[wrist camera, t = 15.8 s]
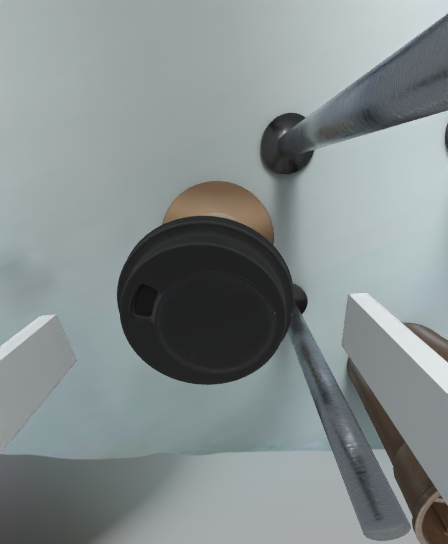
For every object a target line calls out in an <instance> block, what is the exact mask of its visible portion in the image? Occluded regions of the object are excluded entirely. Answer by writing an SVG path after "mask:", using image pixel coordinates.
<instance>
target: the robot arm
mask: <svg viewBox="0 0 448 544" xmlns="http://www.w3.org/2000/svg"><path fill="white" fill-rule="evenodd" d="M342 346H343V348H344V349H345V351H346V352H347V354H348V355H349V357H350V358H351V360H352V361H353V363H354V364H355V366H356V367H357V369H358V370H359V372H360V373H361V375H362V376H363V378H364V379H365V381H366V382H367V384H368V386H369V387H370V389H371V390H372V392H373V393H374V395H375V396H376V398H377V399H378V401H379V402H380V404H381V405H382V407H383V408H384V410H385V411H386V413H387V414H388V416H389V417H390V419H391V420H392V422H393V423H394V425H395V427H396V428H397V430H398V431H399V433H400V434H401V436H402V437H403V439H404V440H405V442H406V443H407V445H408V446H409V448H410V449H411V451H412V452H413V454H414V455H415V457H416V458H417V460H418V461H419V463H420V464H421V466H422V468H423V469H424V471H425V472H426V474H427V475H428V477H429V478H430V480H431V481H432V483H433V484H434V486H435V487H436V489H437V490H438V492H439V493H440V495H441V496H442V498H443V499H444V501H445V502H446V504H447V505H448V362H446V361H445V360H444V359H443V358H442V357H441V356H439V355H438V354H437V353H436V352H435V351H434V350H433V349H431V348H430V347H429V346H428V345H427V344H426V343H424V342H423V341H422V340H421V339H420V338H419V337H418V336H416V335H415V334H414V333H413V332H412V331H411V330H409V329H408V328H407V327H406V326H405V325H404V324H402V323H401V322H400V321H399V320H398V319H397V318H396V317H394V316H393V315H392V314H391V313H390V312H389V311H387V310H386V309H385V308H384V307H383V306H382V305H380V304H379V303H378V302H377V301H376V300H375V299H374V298H372V297H371V296H370V295H369V294H368V293H367V292H366V293H352V294H348V300H347V308H346V315H345V323H344V331H343V339H342ZM76 361H77V360H76V358H75V356H74V353H73V351H72V349H71V347H70V344H69V342H68V340H67V337H66V335H65V333H64V330H63V328H62V326H61V324H60V321H59V319H58V317H57V315H43V316H40V317H38V318H37V319H36V320H34V321H33V322H32V323H30V324H29V325H28V326H26V327H25V328H24V329H22V330H21V331H20V332H18V333H17V334H16V335H14V336H13V337H12V338H10V339H9V340H8V341H6V342H5V343H4V344H2V345H1V346H0V454H1V453H2V452H3V451H4V449H5V448H6V447H7V446H8V444H9V443H10V442H11V441H12V440H13V438H14V437H15V436H16V435H17V433H18V432H19V431H20V430H21V429H22V427H23V426H24V425H25V424H26V422H27V421H28V420H29V419H30V417H31V416H32V415H33V414H34V413H35V411H36V410H37V409H38V408H39V406H40V405H41V404H42V403H43V401H44V400H45V399H46V398H47V397H48V395H49V394H50V393H51V392H52V390H53V389H54V388H55V387H56V385H57V384H58V383H59V382H60V381H61V379H62V378H63V377H64V376H65V374H66V373H67V372H68V371H69V369H70V368H71V367H72V366H73V365H74V363H75V362H76Z"/></svg>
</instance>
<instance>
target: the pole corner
mask: <svg viewBox="0 0 448 544" xmlns="http://www.w3.org/2000/svg"><path fill="white" fill-rule="evenodd" d="M447 110H448V14H447V15H445V16H444V17H443V18H441V19H440V20H439V21H437V22H436V23H435V24H433V25H432V26H431V27H429V28H428V29H426V30H425V31H424V32H422V33H421V34H420V35H418V36H417V37H416V38H414V39H413V40H411V41H410V42H409V43H407V44H406V45H405V46H403V47H402V48H401V49H399V50H398V51H396V52H395V53H394V54H392V55H391V56H390V57H388V58H387V59H386V60H384V61H383V62H381V63H380V64H379V65H377V66H376V67H375V68H373V69H372V70H371V71H369V72H368V73H366V74H365V75H364V76H362V77H361V78H360V79H358V80H357V81H356V82H354V83H353V84H351V85H350V86H349V87H347V88H346V89H345V90H343V91H342V92H341V93H339V94H338V95H336V96H335V97H334V98H332V99H331V100H330V101H328V102H327V103H326V104H324V105H323V106H321V107H320V108H319V109H317V110H316V111H315V112H313V113H312V114H311V115H309V116H308V117H306V118H305V117H304V116H302V115H300V114H296V113H287V114H283V115H280V116H278V117H277V118H275V119H274V120H273V121H272V122H271V123H270V124H269V125H268V127H267V128H266V129H265V131H264V133H263V136H262V139H261V146H260V149H261V156H262V159H263V161H264V163H265V164H266V166H267V167H268V168H269V169H271V170H272V171H274V172H276V173H279V174H291V173H294V172H297V171H299V170H300V169H302V168H303V167H304V166H305V165H306V164H307V163H308V162H309V160H310V159H311V157H312V155H313V152H314V149H317V148H321V147H324V146H327V145H331V144H334V143H338V142H341V141H345V140H348V139H351V138H355V137H358V136H362V135H365V134H368V133H372V132H375V131H379V130H382V129H386V128H389V127H392V126H396V125H399V124H403V123H406V122H409V121H413V120H416V119H420V118H423V117H427V116H430V115H433V114H437V113H440V112H444V111H447Z"/></svg>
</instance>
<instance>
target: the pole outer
mask: <svg viewBox="0 0 448 544" xmlns="http://www.w3.org/2000/svg"><path fill="white" fill-rule="evenodd" d="M445 138H446V144H447V146H448V125H447V128H446V135H445Z"/></svg>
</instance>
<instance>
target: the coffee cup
mask: <svg viewBox="0 0 448 544" xmlns="http://www.w3.org/2000/svg"><path fill="white" fill-rule="evenodd" d="M117 301H118V308H119V313H120V319H121V324H122V328H123V331H124V334H125V336H126V338H127V340H128V342H129V344H130V345H131V347H132V348H133V350H134V351H135V352H136V353H137V355H138V356H139V357H140V358H141V359H142V360H143V361H145V362H146V363H147V364H148V365H149V366H151V367H152V368H154V369H155V370H157V371H158V372H160V373H162V374H164V375H166V376H168V377H171V378H173V379H176V380H179V381H183V382H187V383H193V384H205V385H210V384H222V383H227V382H231V381H235V380H238V379H241V378H243V377H245V376H247V375H249V374H251V373H253V372H255V371H256V370H258V369H259V368H260V367H262V366H263V365H264V364H265V363H266V362H267V361H268V360H269V359H270V358H271V357H272V356H273V355H274V353H275V352H276V350H277V349H278V347H279V345H280V343H281V341H282V340H283V338H284V337H285V335H286V333H287V331H288V329H289V327H290V324H291V321H292V317H293V312H294V292H293V284H292V279H291V275H290V272H289V269H288V267H287V265H286V263H285V261H284V259H283V258H282V256H281V255H280V253H279V252H278V250H277V249H276V248H275V247H274V246H273V245H272V244H271V243H270V242H269V241H268V240H267V239H266V238H265V237H264V236H262V235H261V234H260V233H258V232H257V231H255V230H254V229H252V228H250V227H248V226H246V225H244V224H242V223H240V222H238V221H237V220H235V219H234V218H233V217H231V216H229V215H226V214H222V213H209V214H202V215H199V216H190V217H184V218H180V219H176V220H173V221H170V222H168V223H165V224H163V225H161V226H159V227H158V228H156V229H154V230H153V231H151V232H150V233H149V234H147V235H146V236H145V237H144V238H143V239H142V240H141V241H140V242H139V243H138V244H137V245H136V246H135V248H134V249H133V251H132V252H131V253H130V255H129V257H128V259H127V261H126V263H125V264H124V266H123V269H122V271H121V274H120V278H119V282H118V289H117Z"/></svg>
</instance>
